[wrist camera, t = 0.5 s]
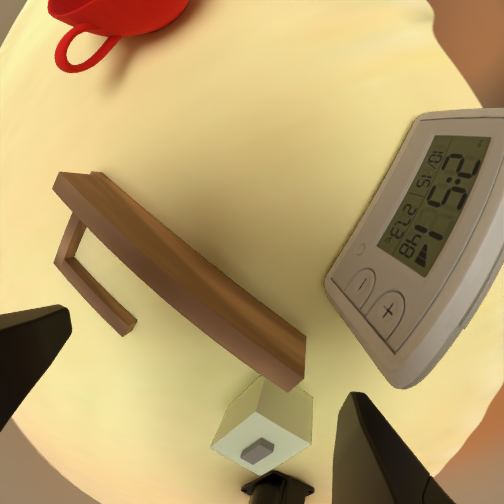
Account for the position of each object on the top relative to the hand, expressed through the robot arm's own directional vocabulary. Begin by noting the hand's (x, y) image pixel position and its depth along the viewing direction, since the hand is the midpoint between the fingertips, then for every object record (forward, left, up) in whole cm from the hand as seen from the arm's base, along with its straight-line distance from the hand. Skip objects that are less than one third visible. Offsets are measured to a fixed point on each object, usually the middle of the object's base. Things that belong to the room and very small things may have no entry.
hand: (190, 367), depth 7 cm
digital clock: (+9, -6, -15) cm, 18 cm away
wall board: (-8, +5, -14) cm, 17 cm away
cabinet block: (-10, -8, -14) cm, 19 cm away
